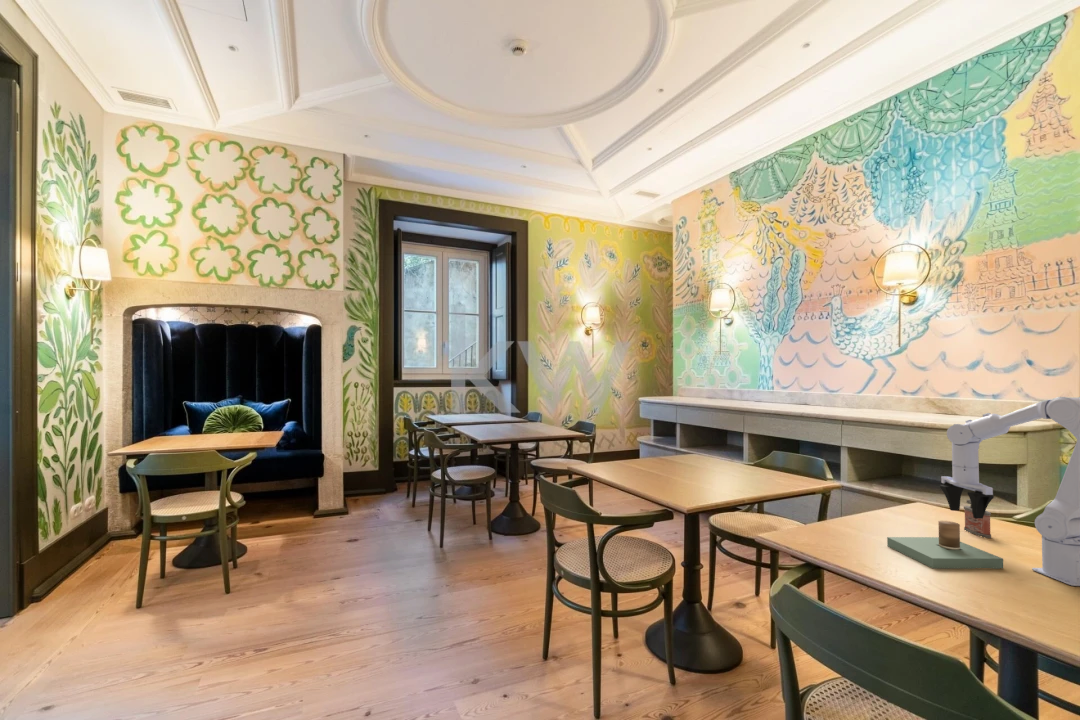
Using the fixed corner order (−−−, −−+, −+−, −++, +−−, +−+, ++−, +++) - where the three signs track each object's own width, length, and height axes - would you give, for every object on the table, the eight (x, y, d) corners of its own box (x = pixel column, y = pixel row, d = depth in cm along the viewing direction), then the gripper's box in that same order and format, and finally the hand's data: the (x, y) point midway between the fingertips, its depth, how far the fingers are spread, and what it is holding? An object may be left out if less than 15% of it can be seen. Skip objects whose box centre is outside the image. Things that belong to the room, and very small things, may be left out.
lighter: (994, 538, 146) (994, 504, 147) (983, 538, 147) (982, 504, 147) (971, 529, 154) (971, 497, 155) (960, 529, 155) (960, 497, 155)
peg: (965, 559, 129) (964, 525, 129) (948, 559, 129) (948, 525, 129) (950, 553, 134) (949, 520, 134) (934, 553, 134) (933, 520, 134)
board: (1003, 568, 123) (1003, 558, 123) (932, 568, 123) (932, 558, 123) (949, 546, 139) (949, 537, 139) (887, 545, 139) (887, 537, 139)
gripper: (930, 461, 146) (931, 507, 146) (974, 471, 132) (975, 521, 131) (954, 461, 146) (954, 507, 146) (1000, 471, 132) (1001, 521, 131)
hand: (966, 514), depth 139 cm, fingers open, 7 cm apart
